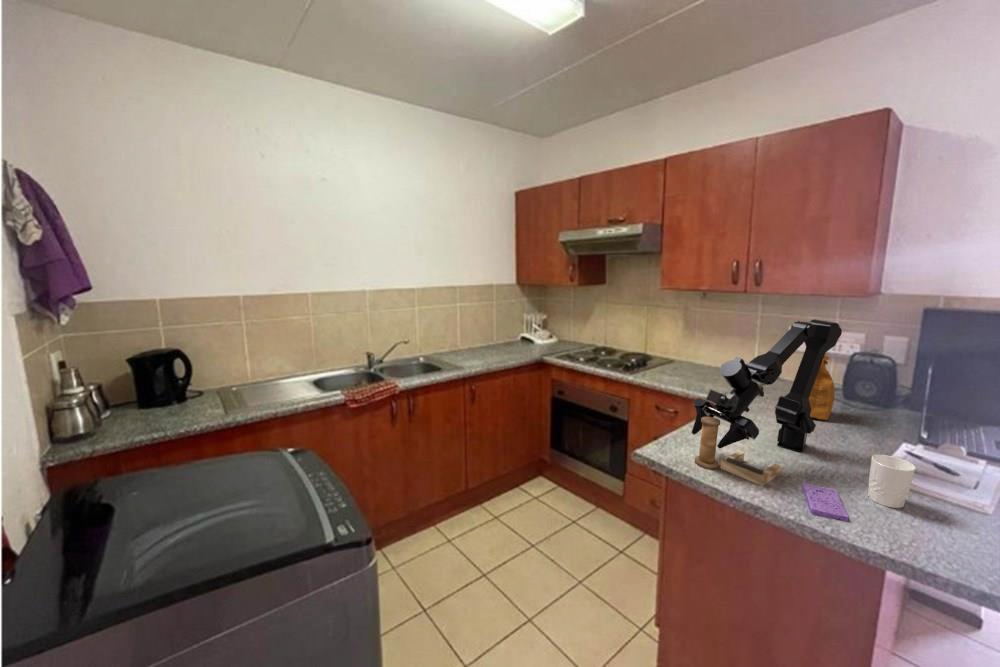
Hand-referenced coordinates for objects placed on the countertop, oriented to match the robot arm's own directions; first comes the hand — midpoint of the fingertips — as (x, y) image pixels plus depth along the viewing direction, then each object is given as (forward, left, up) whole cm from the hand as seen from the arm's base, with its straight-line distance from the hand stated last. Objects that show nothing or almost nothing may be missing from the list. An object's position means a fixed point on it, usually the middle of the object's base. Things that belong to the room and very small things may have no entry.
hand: (705, 440), depth 123 cm
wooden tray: (-10, -6, -7) cm, 14 cm away
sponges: (-28, -2, -8) cm, 29 cm away
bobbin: (-1, -1, -7) cm, 7 cm away
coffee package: (-12, -68, -7) cm, 70 cm away
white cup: (-38, -15, -7) cm, 41 cm away
